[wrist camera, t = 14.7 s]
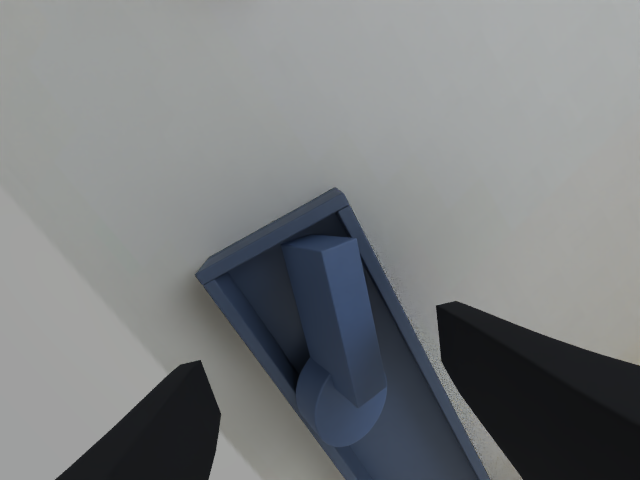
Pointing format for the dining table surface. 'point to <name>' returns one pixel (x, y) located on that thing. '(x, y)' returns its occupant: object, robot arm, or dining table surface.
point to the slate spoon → (336, 339)
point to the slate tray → (292, 354)
